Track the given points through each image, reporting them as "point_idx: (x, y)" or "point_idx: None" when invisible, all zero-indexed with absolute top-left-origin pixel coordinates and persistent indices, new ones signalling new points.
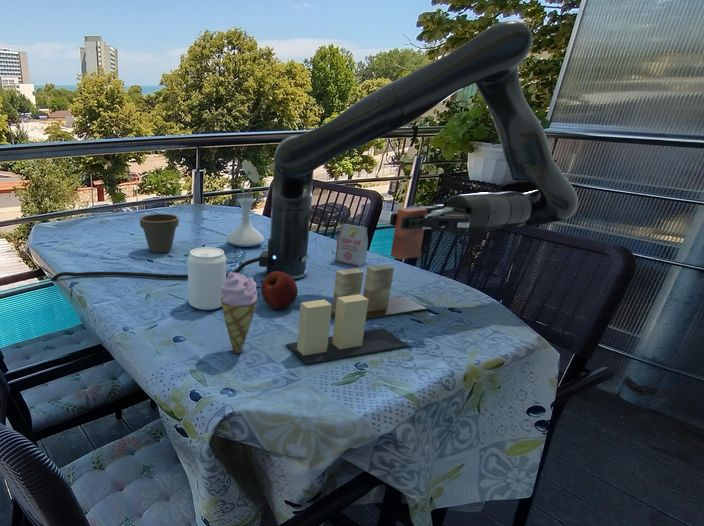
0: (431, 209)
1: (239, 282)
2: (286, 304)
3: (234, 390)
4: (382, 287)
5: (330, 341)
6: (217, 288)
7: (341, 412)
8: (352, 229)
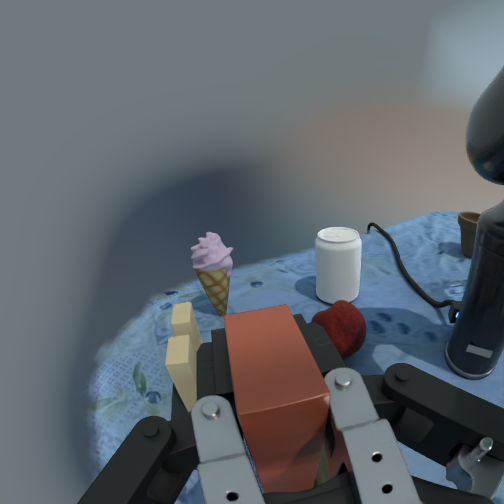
0: (354, 492)
1: (200, 243)
2: None
3: (165, 308)
4: (322, 469)
5: None
6: (320, 277)
7: (107, 354)
8: None
